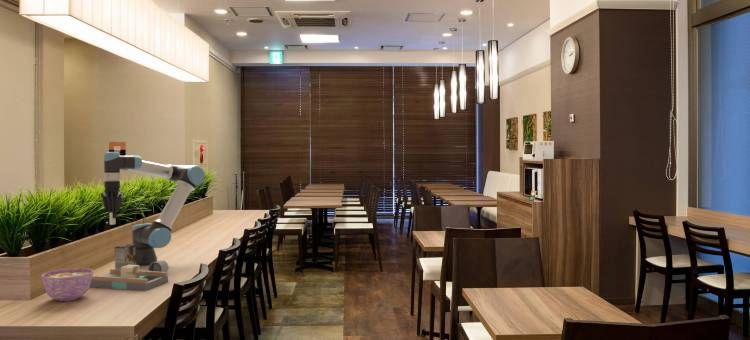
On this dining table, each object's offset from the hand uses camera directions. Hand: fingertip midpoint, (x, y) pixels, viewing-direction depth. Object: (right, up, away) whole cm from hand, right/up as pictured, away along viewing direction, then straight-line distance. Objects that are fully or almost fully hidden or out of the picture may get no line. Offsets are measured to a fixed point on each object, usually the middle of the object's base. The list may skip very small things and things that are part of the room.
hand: (112, 224), depth 283 cm
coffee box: (+10, -27, -6) cm, 29 cm away
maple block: (+21, -24, -24) cm, 39 cm away
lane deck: (+19, -27, -23) cm, 40 cm away
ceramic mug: (+25, -27, -3) cm, 37 cm away
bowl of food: (+5, -28, -50) cm, 57 cm away
